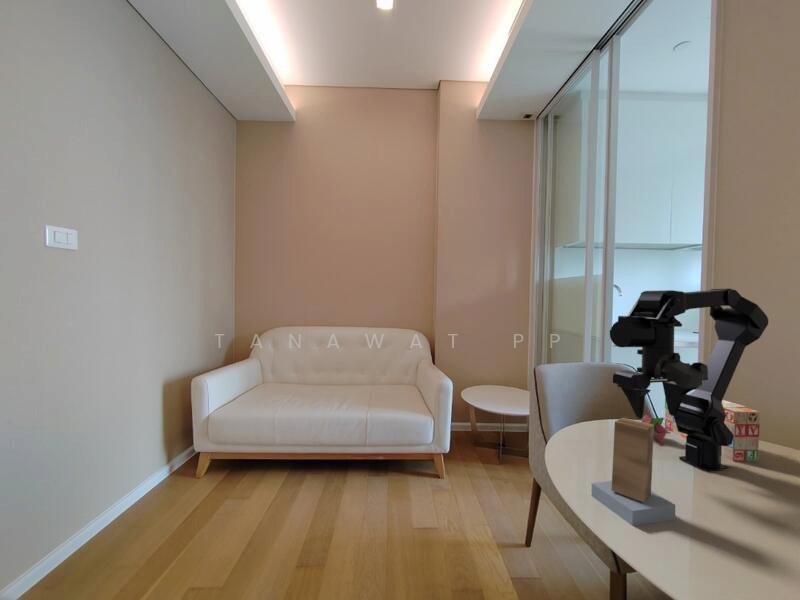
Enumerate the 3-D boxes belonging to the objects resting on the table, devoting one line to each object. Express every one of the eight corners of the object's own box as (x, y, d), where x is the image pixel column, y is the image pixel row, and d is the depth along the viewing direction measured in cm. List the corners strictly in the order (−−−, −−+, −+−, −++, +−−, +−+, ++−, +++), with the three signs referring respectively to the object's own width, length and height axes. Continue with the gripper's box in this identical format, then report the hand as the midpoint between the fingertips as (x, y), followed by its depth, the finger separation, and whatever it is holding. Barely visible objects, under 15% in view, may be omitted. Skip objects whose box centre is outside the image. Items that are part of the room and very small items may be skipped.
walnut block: (619, 482, 68) (622, 417, 68) (650, 493, 64) (654, 424, 64) (611, 490, 64) (614, 421, 65) (643, 502, 61) (647, 429, 61)
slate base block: (630, 493, 69) (630, 478, 69) (674, 522, 61) (675, 504, 61) (591, 498, 67) (591, 483, 67) (632, 528, 59) (632, 511, 59)
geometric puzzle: (683, 438, 91) (666, 408, 96) (661, 440, 89) (645, 409, 94) (661, 446, 97) (646, 417, 101) (641, 447, 95) (626, 418, 100)
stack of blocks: (663, 428, 104) (664, 387, 104) (684, 428, 104) (685, 387, 104) (733, 462, 83) (734, 410, 83) (759, 462, 83) (760, 410, 83)
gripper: (658, 353, 68) (657, 433, 68) (730, 351, 72) (729, 427, 72) (611, 345, 79) (610, 414, 79) (676, 344, 83) (675, 410, 83)
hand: (656, 416), depth 78 cm, fingers open, 9 cm apart
